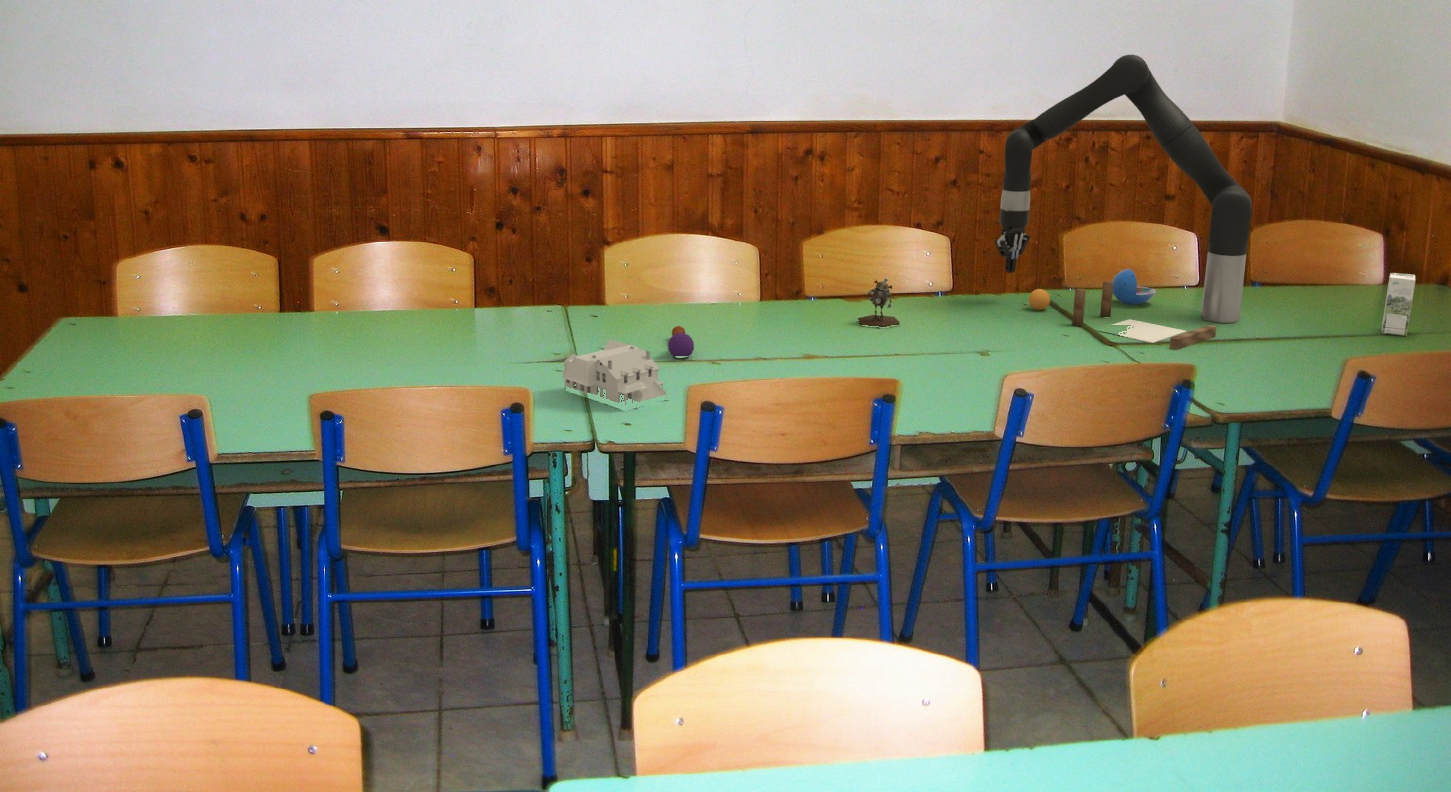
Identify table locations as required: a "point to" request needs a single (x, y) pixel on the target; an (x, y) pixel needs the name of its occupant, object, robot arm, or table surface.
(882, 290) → the robot figurine
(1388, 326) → the syrup box
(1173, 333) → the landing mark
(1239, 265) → the robot arm
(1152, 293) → the cell model
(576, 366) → the house model
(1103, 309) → the post far
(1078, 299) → the post near
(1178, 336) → the wall
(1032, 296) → the ball
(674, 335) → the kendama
